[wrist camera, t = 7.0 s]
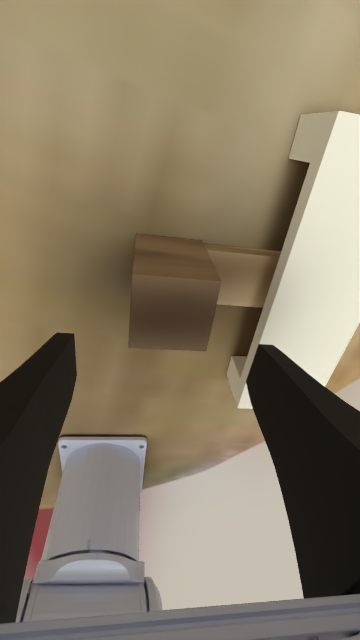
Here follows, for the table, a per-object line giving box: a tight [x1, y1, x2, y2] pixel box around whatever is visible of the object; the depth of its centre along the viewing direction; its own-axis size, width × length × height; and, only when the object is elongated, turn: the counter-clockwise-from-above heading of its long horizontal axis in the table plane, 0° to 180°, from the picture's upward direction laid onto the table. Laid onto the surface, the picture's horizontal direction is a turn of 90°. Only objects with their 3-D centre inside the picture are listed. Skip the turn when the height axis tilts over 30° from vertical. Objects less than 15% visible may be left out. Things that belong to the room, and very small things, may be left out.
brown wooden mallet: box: [128, 233, 281, 351], centre depth 17 cm, size 4×16×6 cm, turn 83°
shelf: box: [226, 111, 360, 409], centre depth 19 cm, size 18×6×4 cm, turn 173°
